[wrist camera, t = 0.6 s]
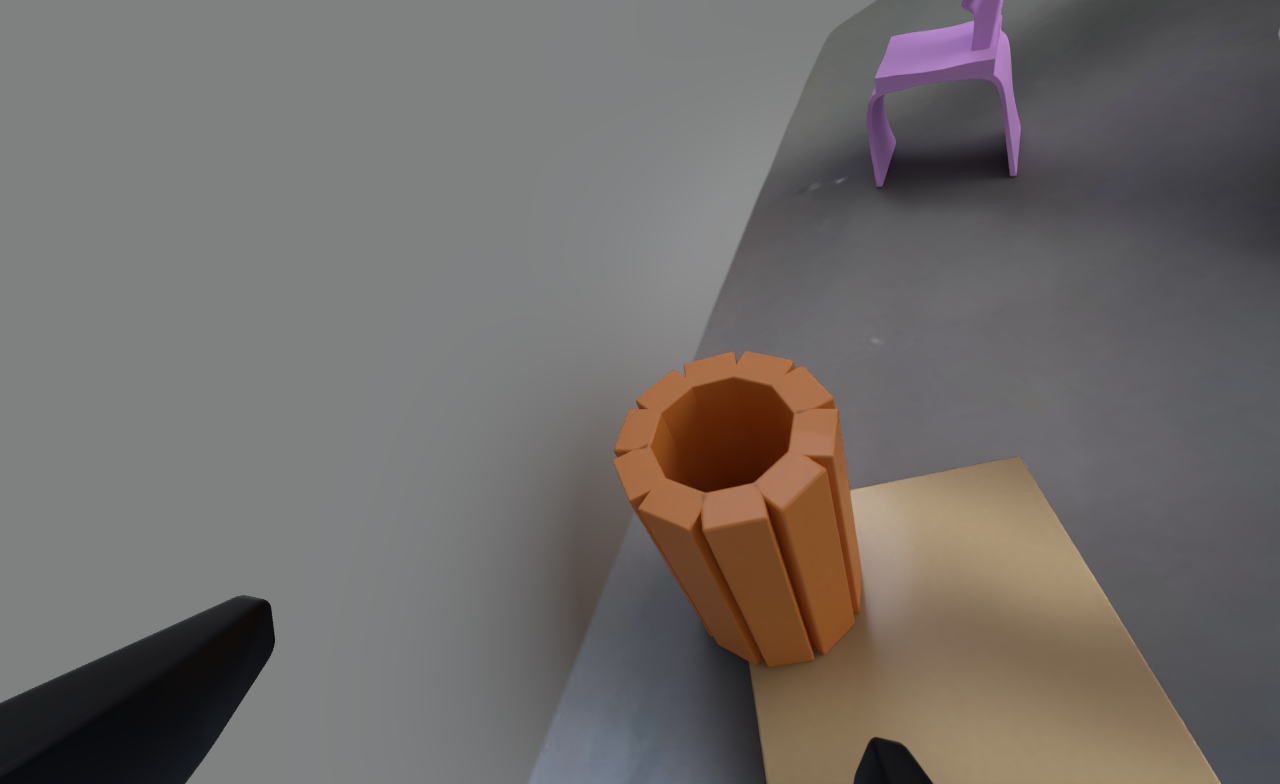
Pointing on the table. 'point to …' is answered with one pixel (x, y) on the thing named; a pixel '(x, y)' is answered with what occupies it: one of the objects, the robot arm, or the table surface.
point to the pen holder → (748, 502)
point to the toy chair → (945, 74)
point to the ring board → (974, 652)
